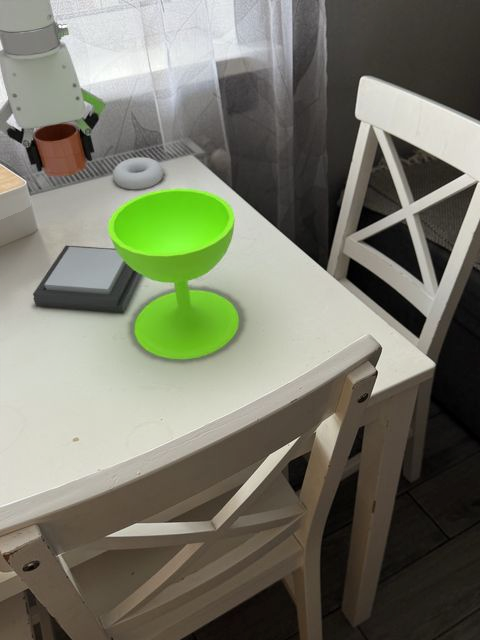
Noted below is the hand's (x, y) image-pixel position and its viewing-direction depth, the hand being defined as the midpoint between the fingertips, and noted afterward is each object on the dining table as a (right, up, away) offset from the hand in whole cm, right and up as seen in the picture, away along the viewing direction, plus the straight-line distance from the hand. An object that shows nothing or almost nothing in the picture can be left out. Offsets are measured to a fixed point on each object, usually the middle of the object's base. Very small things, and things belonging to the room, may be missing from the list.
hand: (63, 161), depth 93 cm
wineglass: (+20, -26, -5) cm, 33 cm away
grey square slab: (+4, -18, 0) cm, 18 cm away
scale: (+4, -20, +2) cm, 20 cm away
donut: (+6, +5, +28) cm, 29 cm away
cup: (0, -1, +1) cm, 1 cm away
